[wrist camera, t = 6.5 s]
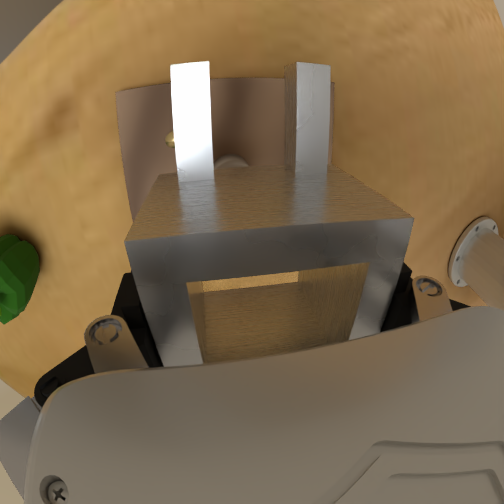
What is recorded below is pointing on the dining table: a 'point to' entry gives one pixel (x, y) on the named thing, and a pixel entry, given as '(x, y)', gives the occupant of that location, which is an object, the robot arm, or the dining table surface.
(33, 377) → the dining table surface
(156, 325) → the bracket
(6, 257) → the bell pepper
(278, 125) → the post board
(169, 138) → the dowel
